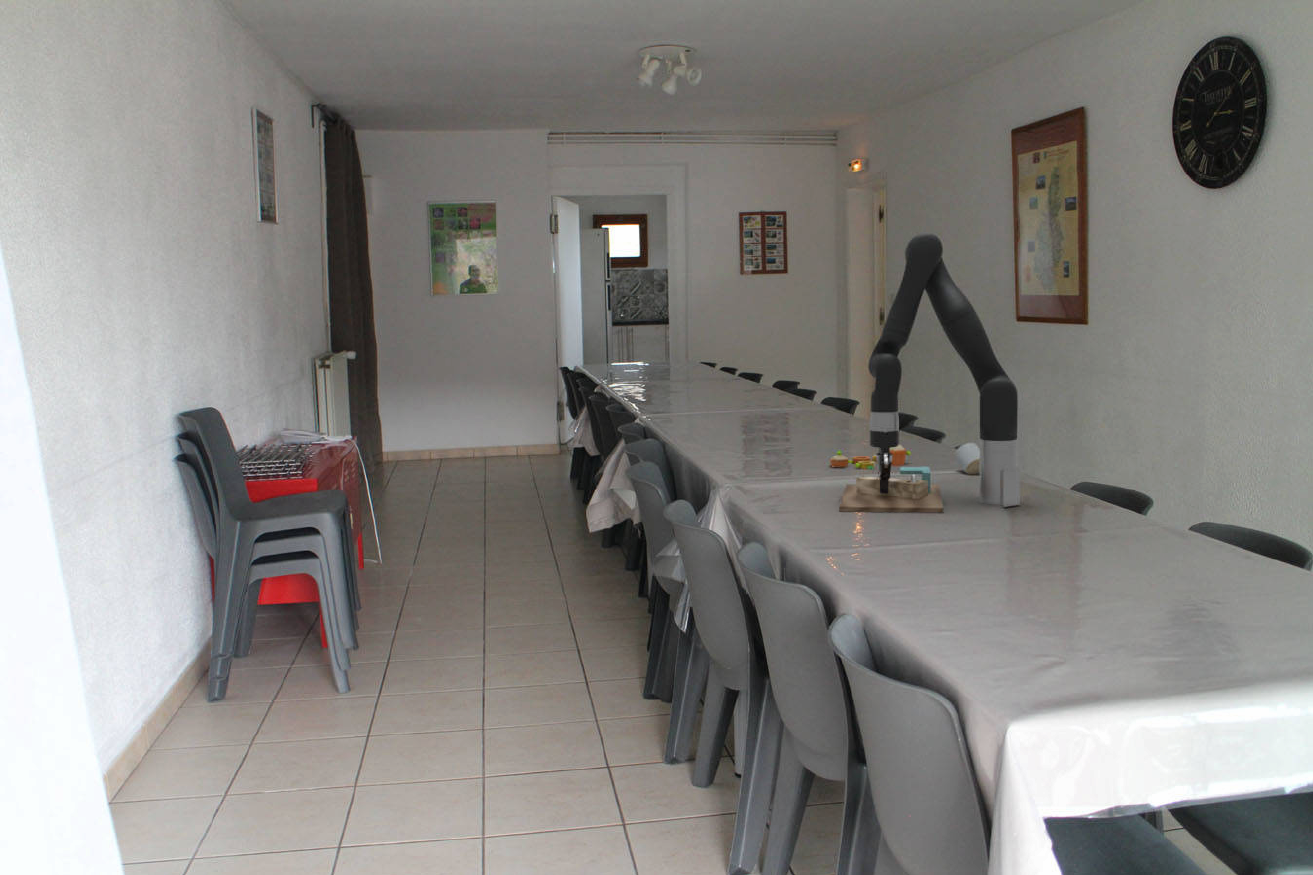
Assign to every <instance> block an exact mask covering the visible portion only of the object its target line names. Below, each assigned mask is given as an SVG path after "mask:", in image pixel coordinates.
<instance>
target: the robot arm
mask: <svg viewBox="0 0 1313 875" xmlns="http://www.w3.org/2000/svg"><path fill="white" fill-rule="evenodd" d="M943 249H944V248H943V244H942V241H941V239H940V238H939V236H937V235H935V234H933V233H932V232H922V233H918V234H916V235H914V236H913V237H912V238H911V239H910V240H909V242H908V243H907V245H906V248H905V251H904V257H905V258H904V259H905V267H904V272H903V276H902V279H901V282H900V284H899V288H898V291H897V293H896V294H895V298H894V299H893V302H892V305H891V307H890V309H889V312H888V313H887V314H888V315H887V317H886V320H885V323H884V325H883V329H882V331H881V335H880V338H879V339H878V341H877V343H876V345H875V346H874V349H873V350H872V353H871V355H870V357H869V361H868V372H869V374H870V375H871V376H872V377H873V378H874V379H875V383H874V390H873V391H872V392H871V396H870V417H869V446H871V448H878V452H876V453H875V455H876V459H877V461H876V469H877V470H878V472H877V474H878V475H877V476H878V478H879V479H880V493H881V494H887V493H888V488H889V478H890V479H891V471H892V466H891V464H892V463H891V461H892V454H891V453H890V448H891V447H897V446H898V445H900V442H899V441H900V439H899V438H900V433H899V432H900V429H899V428H900V420H899V418H900V417H899V390H900V386H901V381H902V372H903V370H902V368H903V367H902V363H901V361H900V359H899V358H898V357H899V355H900V352H901V350H902V349H903V347H905V346H906V344H907V343H908V341H909V338H910V336H911V333H912V329H913V327H914V324H915V321H916V317H917V314H918V310H919V307H920V304H921V300H922V297H923V295H924V292H926V294H927V297H928V298H929V301H930V302H929V303H930V304H931V306H932V308H933V311H934V313H935V315H936V317H937V319H938V322H939V324H940V326H941V327H942V331H944V334H945V336H946V337H947V339H948V341H949V342H950V344H951V345H952V347H953V349H954V350H955V352H956V353H957V354H958V355H959V358H961V360H962V361H963V362H964V363H965V365H966V366H967V367H968V369H969V371H970V373H971V376H972V377H973V380H974V382H975V384H976V387H977V389H978V390H977V391H978V392H979V449H980V474H979V502H980V503H982V504H987V505H998V506H999V505H1000V506H1002V508H1008V507H1013V506H1020V504H1021V503H1020V502H1021V500H1020V499H1021V498H1020V496H1021V491H1020V490H1021V469H1020V468H1018V405H1019V404H1018V403H1019V397H1018V396H1019V395H1018V394H1019V393H1018V389H1017V387H1016V385H1015V383H1014V382H1013V381H1012V380H1011V379H1010V377H1009V376H1008V374H1007V373H1006V371H1005V370H1004V367H1002V365H1001V364H1000V362H999V361H998V359H997V357H996V355H995V352H994V350H993V348H992V345H991V342H990V339H989V336H988V334H987V332H986V330H985V328H984V325H983V323H982V321H981V319H980V317H979V315H978V313H977V311H976V310H975V308H974V306H973V304H971V302H970V300H969V299H968V298H967V296H966V295H965V294H964V293H963V291H962V290H961V289H960V288H959V287H958V286H957V285H956V283H955V282H954V281H953V278H952V276H951V275H950V274H949V273H950V272H948V269H947V267H946V264H945V262H944V260H943V257H942V256H943V252H944V250H943Z"/></svg>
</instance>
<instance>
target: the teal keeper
mask: <svg viewBox="0 0 1313 875" xmlns="http://www.w3.org/2000/svg"><path fill="white" fill-rule="evenodd" d="M899 469H900V470H899V471H900V472H899V474H900V475H911V474H917V475H921V480H924V481H928V493H930V485H931V468H930V466H900V468H899Z"/></svg>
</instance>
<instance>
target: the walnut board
mask: <svg viewBox="0 0 1313 875" xmlns="http://www.w3.org/2000/svg"><path fill="white" fill-rule="evenodd" d="M840 501H841V502H840V504H839V512H847V513H848V512H850V513H851V512H853V513H854V512H855V513H856V512H858V513H860V512H862V513H863V512H865V513H921V514H922V513H923V514H925V513H930V514H934V513H935V514H943V513H944V506H943V505H944V504H943V501H942V495H941V490H940V485H938V484H937V485H936V484H935V485H934V484H930V493H928V496H925V497H922V498H919V499H913V498H902V497H897V496H887V495H876V494H865V493H857V484H846V486H845V490H844V493H843V496H842V498H841V500H840Z"/></svg>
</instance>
